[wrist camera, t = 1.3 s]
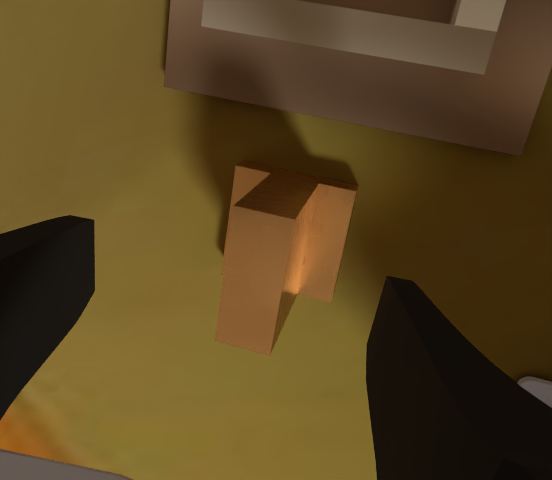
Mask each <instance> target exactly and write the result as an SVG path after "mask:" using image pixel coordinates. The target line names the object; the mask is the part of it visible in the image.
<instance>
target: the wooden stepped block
mask: <svg viewBox="0 0 552 480" xmlns="http://www.w3.org/2000/svg"><path fill="white" fill-rule="evenodd" d="M357 189H358V185H356V184H351V183H346V182H342V181H337V180H332V179H328V178H323V177H318V176H314V175H309V174H304V173H299V172H295V171H290V170H285V169H281V168H276V167H271V166H267V165H262V164H257V163H253V162H248V161H242V162H240V163H239V164H237V165H236V166H235V174H234V181H233V189H232V197H231V204H230V212H229V219H228V227H227V234H226V242H225V249H224V257H223V265H222V272H221V275H224V277H223V284H222V292H221V299H220V307H219V314H218V322H217V329H216V337H215V341H218V342H222V343H225V344H229V345H233V346H236V347H240V348H244V349H247V350H251V351H255V352H258V353H262V354H265V355H269V356H270V354H271V352H272V350H273V348H274V345H275V343H276V341H277V339H278V336H279V334H280V332H281V330H282V327H283V325H284V323H285V321H286V318H287V316H288V314H289V312H290V309H291V307H292V305H293V303H294V300H295V298H296V296H297V294H299V295H303V296H307V297H311V298H315V299H319V300H323V301H327V302H331V301H332V298H333V294H334V291H335V286H336V282H337V278H338V273H339V269H340V264H341V260H342V255H343V251H344V247H345V242H346V238H347V233H348V229H349V225H350V220H351V216H352V211H353V207H354V203H355V198H356V194H357Z"/></svg>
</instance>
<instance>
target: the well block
mask: <svg viewBox="0 0 552 480" xmlns="http://www.w3.org/2000/svg"><path fill="white" fill-rule="evenodd" d="M551 67H552V0H170V13H169V26H168V39H167V53H166V66H165V80H164V87H167V88H172V89H177V90H182V91H187V92H193V93H198V94H203V95H208V96H213V97H218V98H224V99H229V100H234V101H239V102H244V103H249V104H254V105H260V106H265V107H270V108H275V109H280V110H285V111H290V112H296V113H301V114H306V115H311V116H316V117H321V118H327V119H332V120H337V121H342V122H347V123H352V124H357V125H363V126H368V127H373V128H378V129H383V130H388V131H394V132H399V133H404V134H409V135H414V136H419V137H424V138H430V139H435V140H440V141H445V142H450V143H455V144H460V145H466V146H471V147H476V148H481V149H486V150H491V151H497V152H502V153H507V154H512V155H517V156H521V155H522V152H523V149H524V146H525V143H526V140H527V138H528V135H529V132H530V129H531V126H532V123H533V120H534V117H535V114H536V111H537V108H538V105H539V102H540V99H541V97H542V94H543V91H544V88H545V85H546V82H547V79H548V76H549V73H550V70H551Z"/></svg>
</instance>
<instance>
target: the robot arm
mask: <svg viewBox="0 0 552 480" xmlns="http://www.w3.org/2000/svg"><path fill="white" fill-rule="evenodd" d="M94 291H95V255H94V220H92V219H87V218H82V217H76V216H71V215H69V216H63V217H58V218H54V219H50V220H46V221H43V222H39V223H36V224H33V225H29V226H26V227H23V228H19V229H16V230H13V231H9V232H6V233H3V234H0V420H1V418H2V417H3V415H4V414H5V412H6V411H7V409H8V408H9V406H10V405H11V403H12V402H13V401H14V399H15V398H16V397H17V395H18V394H19V393H20V391H21V390H22V389H23V388H24V386H25V385H26V384H27V383H28V381H29V380H30V379H31V378H32V377H33V375H34V374H35V373H36V372H37V370H38V369H39V368H40V367H41V366H42V364H43V363H44V362H45V361H46V359H47V358H48V357H49V356H50V355H51V353H52V352H53V351H54V350H55V348H56V347H57V346H58V345H59V344H60V342H61V341H62V340H63V339H64V337H65V336H66V335H67V334H68V332H69V331H70V330H71V329H72V327H73V326H74V325H75V323H76V322H77V321H78V319H79V317H80V316H81V314H82V312H83V311H84V309H85V307H86V306H87V304H88V302H89V300H90V298H91V297H92V295H93V293H94ZM366 384H367V393H368V402H369V410H370V418H371V427H372V435H373V443H374V451H375V459H376V471H377V480H552V382H551V381H547V380H543V379H539V378H535V377H530V376H527V377H523V378H521V379H520V380H519V381H518V382H517V383H516V382H515V381H514V380H513V379H511V378H510V377H509V376H508V375H506V374H505V373H504V372H503V371H501V370H500V369H499V368H498V367H496V366H495V365H494V364H493V363H492V362H491V361H489V360H488V359H487V358H486V357H485V356H484V355H483V354H482V353H481V352H480V351H479V350H477V349H476V348H475V347H474V346H473V345H472V344H471V343H470V342H469V341H468V340H467V339H466V338H465V337H464V336H463V335H462V334H461V333H460V332H459V331H458V330H457V329H456V328H455V327H454V326H453V325H452V324H451V323H450V321H449V320H448V319H447V318H446V317H445V316H444V315H443V314H442V313H441V312H440V310H439V309H438V308H437V307H436V306H435V305H434V304H433V303H432V301H431V300H430V299H429V298H428V297H427V296H426V295H425V294H424V292H423V291H422V290H421V289H420V288H419V287H418V286H417V285H416V284H415V283H414V282H413V281H410V280H405V279H400V278H395V277H390V276H387V277H386V280H385V284H384V287H383V291H382V294H381V298H380V301H379V304H378V308H377V311H376V315H375V318H374V322H373V325H372V328H371V332H370V335H369V339H368V342H367V356H366ZM0 480H133V479H131V478H128V477H126V476H123V475H121V474H116V473H111V472H106V471H102V470H97V469H92V468H88V467H83V466H78V465H73V464H69V463H64V462H59V461H54V460H50V459H45V458H40V457H35V456H31V455H26V454H21V453H16V452H12V451H7V450H2V449H0Z"/></svg>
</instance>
